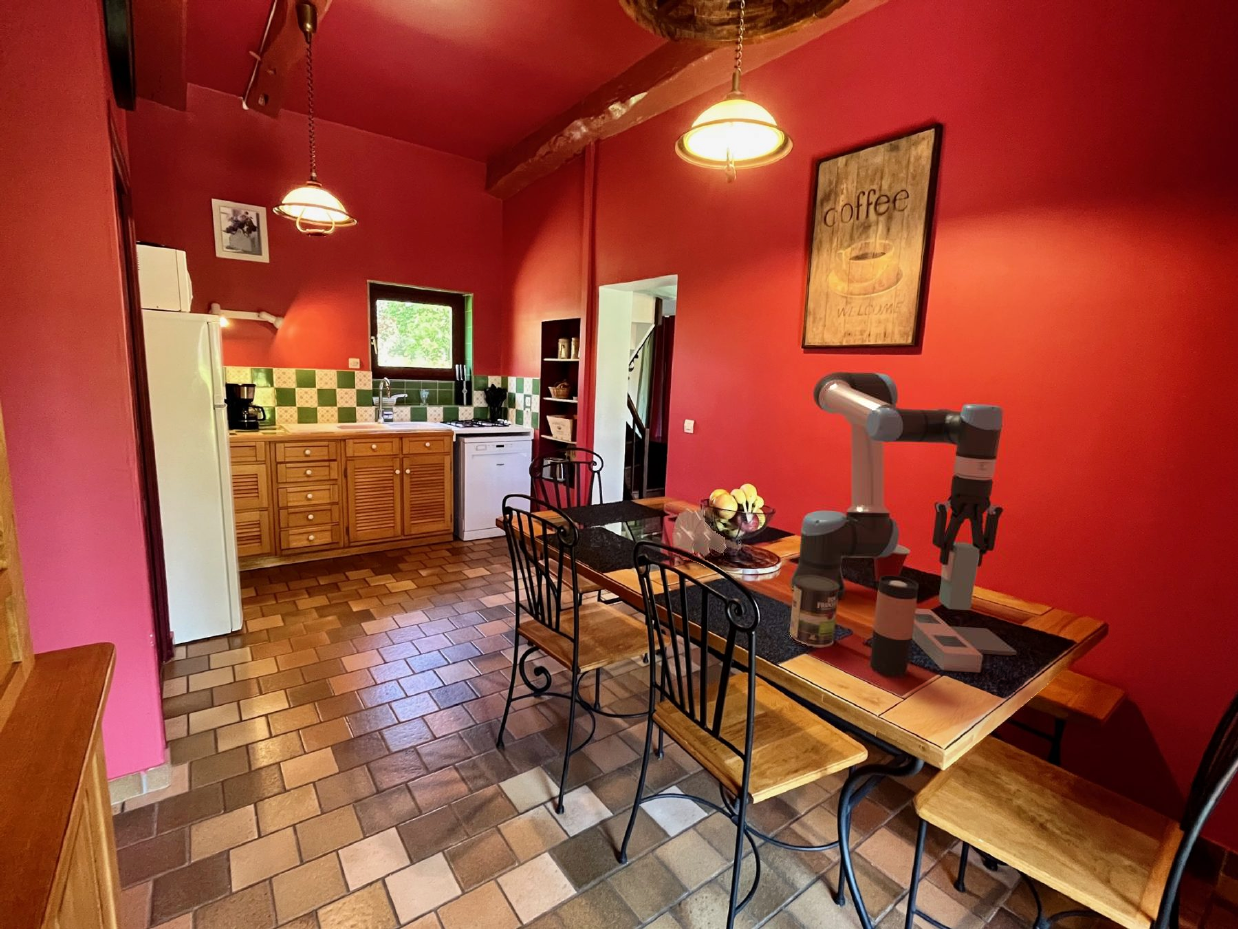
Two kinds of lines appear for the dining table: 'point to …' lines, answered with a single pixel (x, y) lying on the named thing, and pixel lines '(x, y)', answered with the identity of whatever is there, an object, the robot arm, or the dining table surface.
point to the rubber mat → (984, 641)
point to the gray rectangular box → (960, 578)
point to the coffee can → (814, 610)
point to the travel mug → (893, 625)
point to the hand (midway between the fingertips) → (957, 578)
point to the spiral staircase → (698, 534)
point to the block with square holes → (944, 643)
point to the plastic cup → (891, 563)
